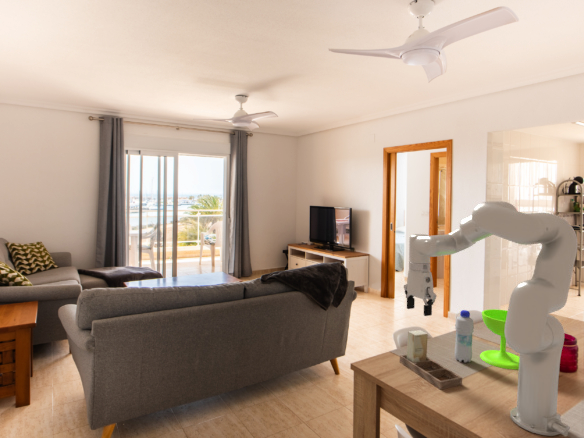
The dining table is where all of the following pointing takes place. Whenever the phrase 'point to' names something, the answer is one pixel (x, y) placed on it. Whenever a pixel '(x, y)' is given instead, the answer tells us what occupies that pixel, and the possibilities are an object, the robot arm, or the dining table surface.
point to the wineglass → (495, 357)
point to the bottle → (464, 337)
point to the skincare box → (417, 346)
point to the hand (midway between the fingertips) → (418, 311)
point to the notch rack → (433, 372)
